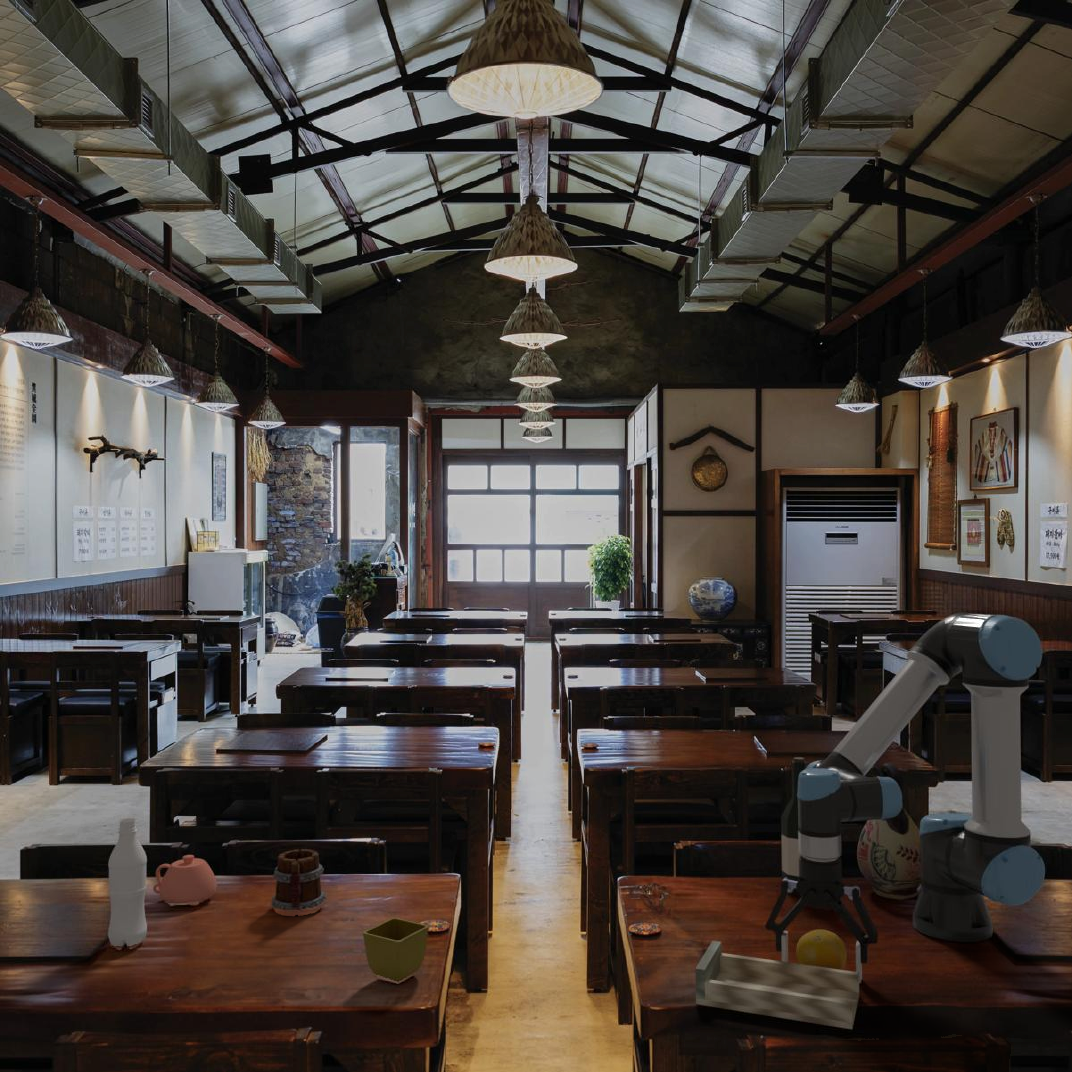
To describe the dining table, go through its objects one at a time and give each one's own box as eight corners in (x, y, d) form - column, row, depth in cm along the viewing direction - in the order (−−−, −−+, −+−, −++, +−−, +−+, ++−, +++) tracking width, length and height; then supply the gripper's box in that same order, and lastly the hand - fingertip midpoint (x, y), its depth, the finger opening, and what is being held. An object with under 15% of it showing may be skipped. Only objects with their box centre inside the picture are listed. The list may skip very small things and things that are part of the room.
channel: (859, 995, 174) (858, 960, 174) (852, 1029, 162) (851, 991, 162) (713, 973, 184) (712, 940, 184) (695, 1003, 171) (695, 968, 171)
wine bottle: (821, 896, 225) (819, 762, 225) (783, 894, 226) (781, 761, 227) (818, 884, 233) (816, 755, 234) (781, 882, 235) (779, 754, 235)
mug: (328, 895, 228) (327, 833, 226) (324, 928, 214) (323, 863, 212) (275, 898, 226) (273, 835, 224) (268, 932, 212) (266, 866, 210)
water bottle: (154, 942, 201) (154, 817, 202) (126, 955, 195) (126, 826, 196) (128, 937, 204) (128, 814, 205) (99, 949, 198) (100, 822, 199)
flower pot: (399, 992, 177) (398, 941, 177) (361, 981, 182) (361, 931, 182) (430, 974, 185) (429, 925, 185) (393, 965, 189) (393, 917, 189)
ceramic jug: (849, 882, 234) (847, 753, 235) (915, 882, 234) (913, 753, 235) (871, 907, 217) (868, 769, 218) (943, 907, 217) (940, 768, 218)
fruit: (794, 981, 180) (793, 936, 180) (799, 964, 188) (798, 921, 188) (845, 988, 177) (844, 942, 177) (848, 970, 185) (847, 926, 185)
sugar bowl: (206, 910, 220) (206, 864, 220) (142, 911, 220) (142, 864, 220) (224, 892, 232) (224, 847, 232) (164, 892, 232) (164, 848, 232)
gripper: (892, 857, 182) (894, 976, 181) (755, 843, 191) (757, 957, 191) (889, 869, 175) (891, 993, 174) (748, 854, 184) (750, 972, 184)
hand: (821, 974), depth 182 cm, fingers open, 12 cm apart
